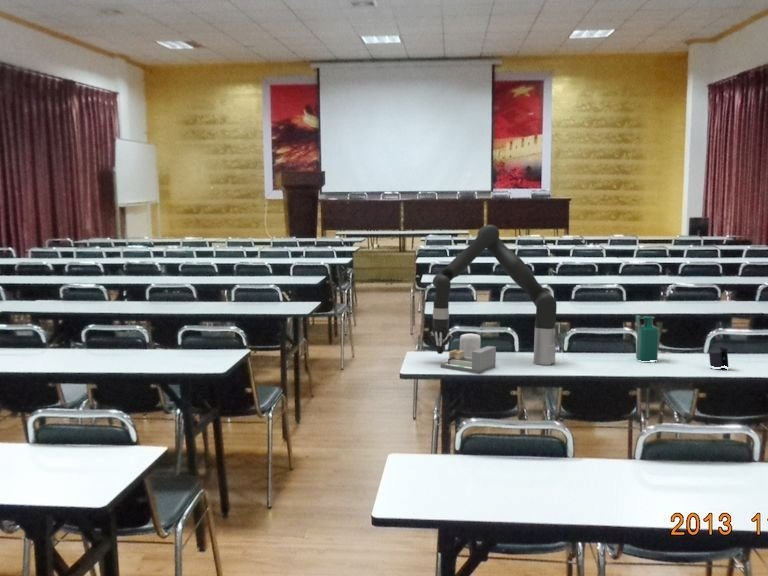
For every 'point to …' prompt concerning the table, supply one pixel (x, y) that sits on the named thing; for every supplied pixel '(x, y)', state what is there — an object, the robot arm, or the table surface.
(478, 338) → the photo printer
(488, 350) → the base
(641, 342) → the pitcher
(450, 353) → the gauge carriage
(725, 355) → the speaker
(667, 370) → the table surface
